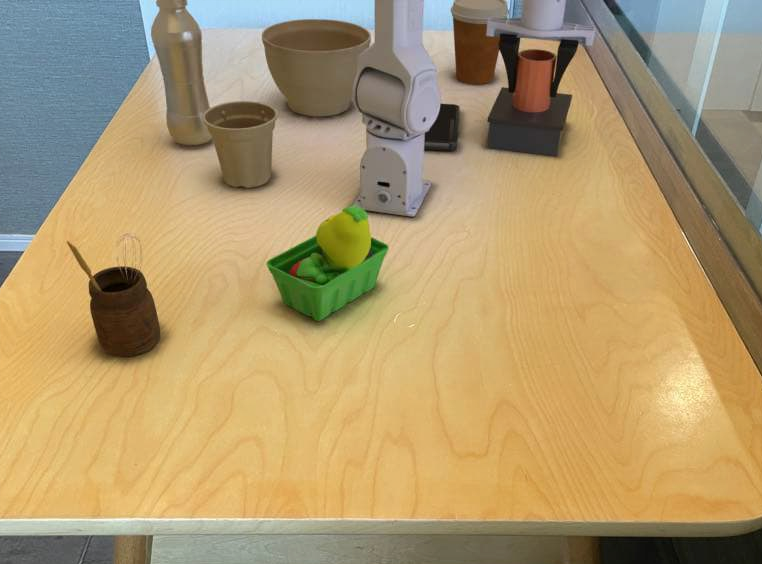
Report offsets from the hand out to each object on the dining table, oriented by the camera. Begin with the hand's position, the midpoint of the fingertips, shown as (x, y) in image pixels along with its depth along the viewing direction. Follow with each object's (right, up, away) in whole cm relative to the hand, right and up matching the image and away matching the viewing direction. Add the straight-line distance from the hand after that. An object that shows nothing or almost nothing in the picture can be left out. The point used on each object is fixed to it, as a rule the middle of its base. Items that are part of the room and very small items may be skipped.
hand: (532, 92), depth 116 cm
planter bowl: (-31, +2, +12) cm, 34 cm away
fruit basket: (-26, -33, -29) cm, 51 cm away
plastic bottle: (-49, -7, +1) cm, 49 cm away
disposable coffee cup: (-6, +11, +23) cm, 26 cm away
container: (0, -5, +4) cm, 6 cm away
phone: (-14, -4, +5) cm, 16 cm away
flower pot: (-39, -15, -8) cm, 43 cm away
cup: (0, -1, +1) cm, 2 cm away
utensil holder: (-46, -38, -36) cm, 70 cm away
